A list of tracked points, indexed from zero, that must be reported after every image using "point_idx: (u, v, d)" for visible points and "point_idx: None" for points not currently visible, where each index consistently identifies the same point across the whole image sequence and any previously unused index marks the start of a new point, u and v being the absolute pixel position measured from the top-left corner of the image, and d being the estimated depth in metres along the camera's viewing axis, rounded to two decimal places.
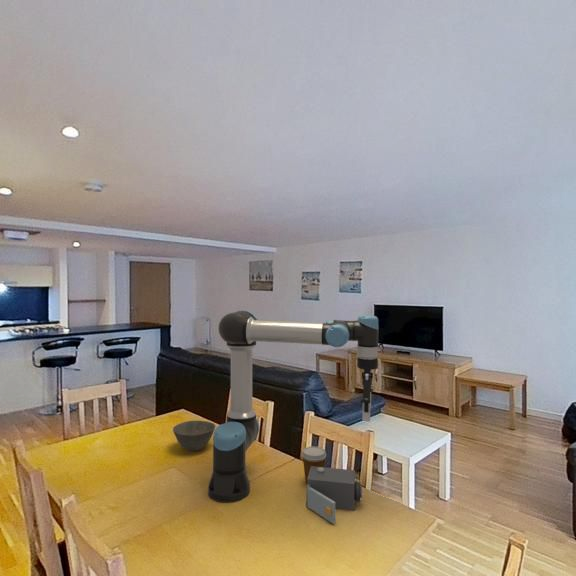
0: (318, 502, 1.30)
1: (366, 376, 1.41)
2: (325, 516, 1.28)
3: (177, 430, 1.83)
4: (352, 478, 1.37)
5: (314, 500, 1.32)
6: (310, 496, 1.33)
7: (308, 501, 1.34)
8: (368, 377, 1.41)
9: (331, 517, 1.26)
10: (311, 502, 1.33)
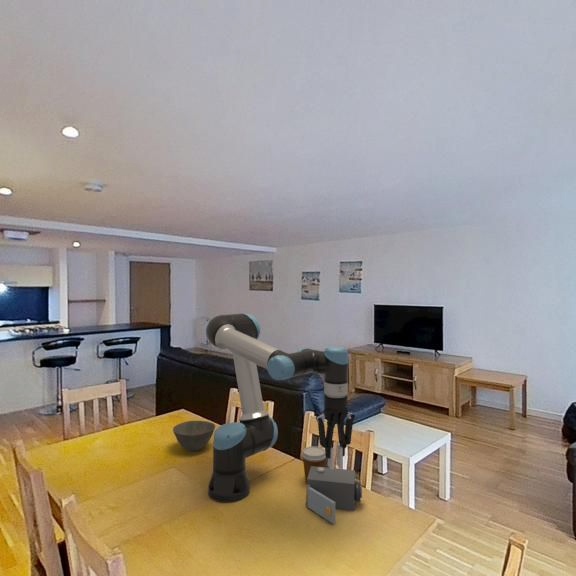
0: (318, 502, 1.30)
1: (317, 420, 1.27)
2: (325, 516, 1.28)
3: (177, 430, 1.83)
4: (352, 478, 1.37)
5: (314, 500, 1.32)
6: (310, 496, 1.33)
7: (308, 501, 1.34)
8: (318, 421, 1.27)
9: (331, 517, 1.26)
10: (311, 502, 1.33)
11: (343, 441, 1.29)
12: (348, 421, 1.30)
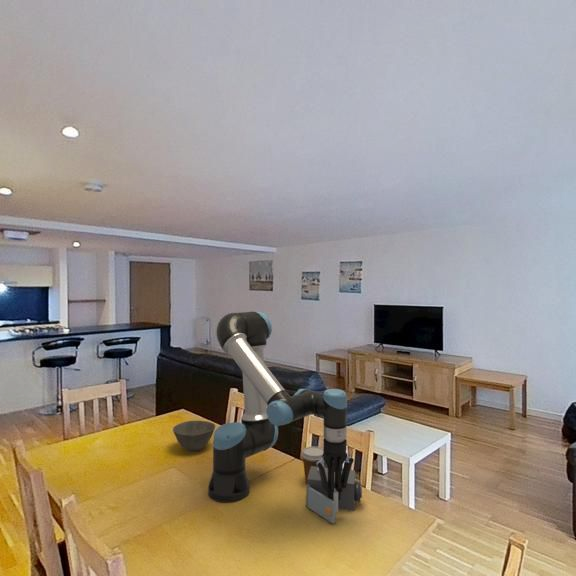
0: (318, 502, 1.30)
1: (317, 465, 1.27)
2: (325, 516, 1.28)
3: (177, 430, 1.83)
4: (352, 478, 1.37)
5: (314, 500, 1.32)
6: (310, 496, 1.33)
7: (308, 501, 1.34)
8: (318, 467, 1.27)
9: (331, 517, 1.26)
10: (311, 502, 1.33)
11: (339, 485, 1.29)
12: (346, 465, 1.30)
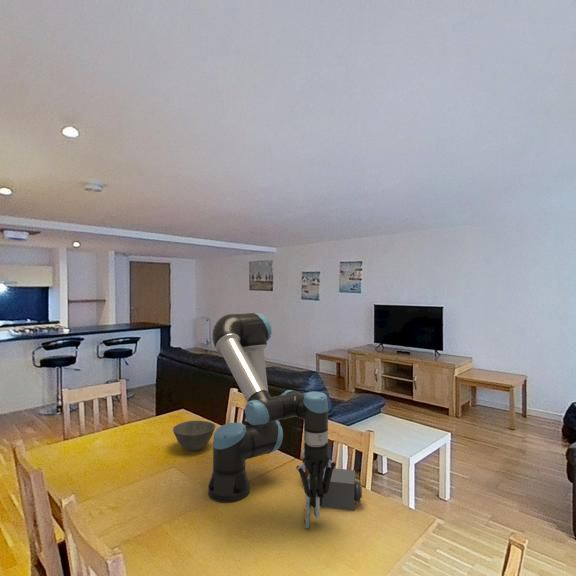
0: None
1: (298, 470, 1.24)
2: None
3: (177, 430, 1.83)
4: (352, 478, 1.37)
5: None
6: None
7: None
8: (299, 472, 1.24)
9: None
10: None
11: (320, 490, 1.25)
12: (328, 469, 1.27)
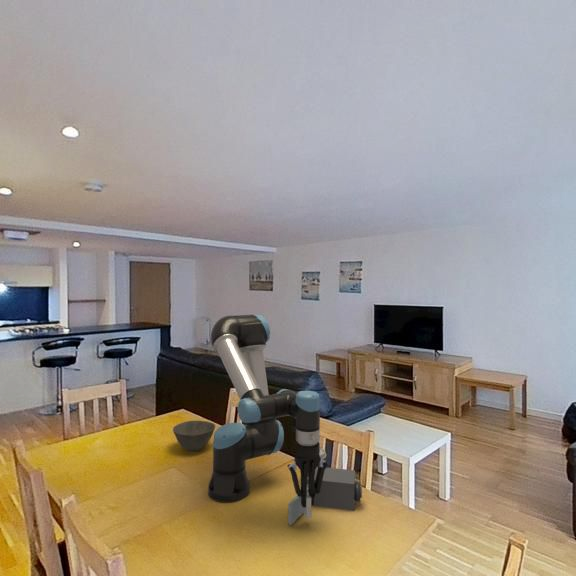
0: None
1: (289, 469, 1.24)
2: None
3: (177, 430, 1.83)
4: (352, 478, 1.37)
5: None
6: None
7: None
8: None
9: None
10: None
11: (312, 490, 1.25)
12: (320, 469, 1.27)
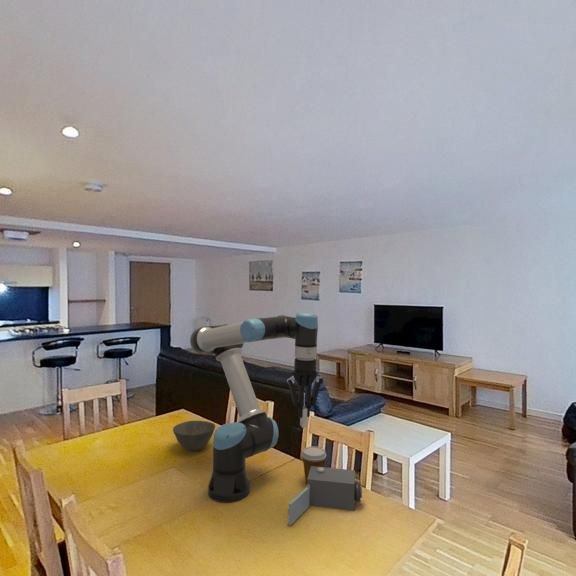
0: None
1: None
2: None
3: (177, 430, 1.83)
4: (352, 478, 1.37)
5: None
6: None
7: None
8: (288, 383, 1.34)
9: None
10: None
11: (308, 402, 1.36)
12: (316, 384, 1.37)
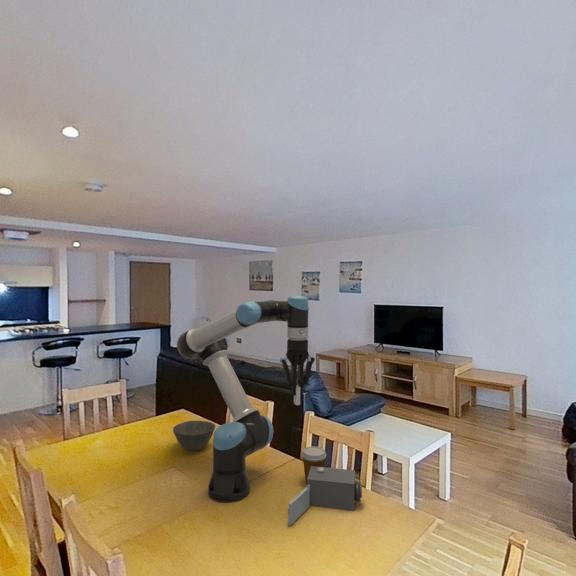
0: None
1: (281, 361, 1.42)
2: None
3: (177, 430, 1.83)
4: (352, 478, 1.37)
5: None
6: None
7: None
8: (282, 362, 1.41)
9: None
10: None
11: (301, 381, 1.43)
12: (308, 363, 1.45)
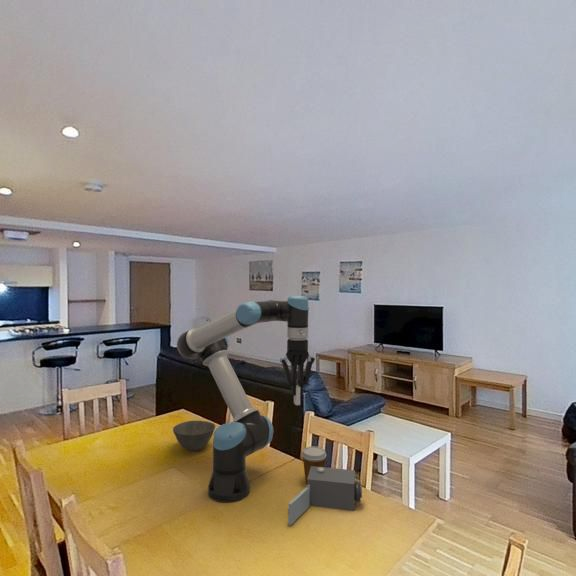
0: None
1: (281, 361, 1.42)
2: None
3: (177, 430, 1.83)
4: (352, 478, 1.37)
5: None
6: None
7: None
8: (282, 362, 1.41)
9: None
10: None
11: (301, 381, 1.43)
12: (308, 363, 1.45)
